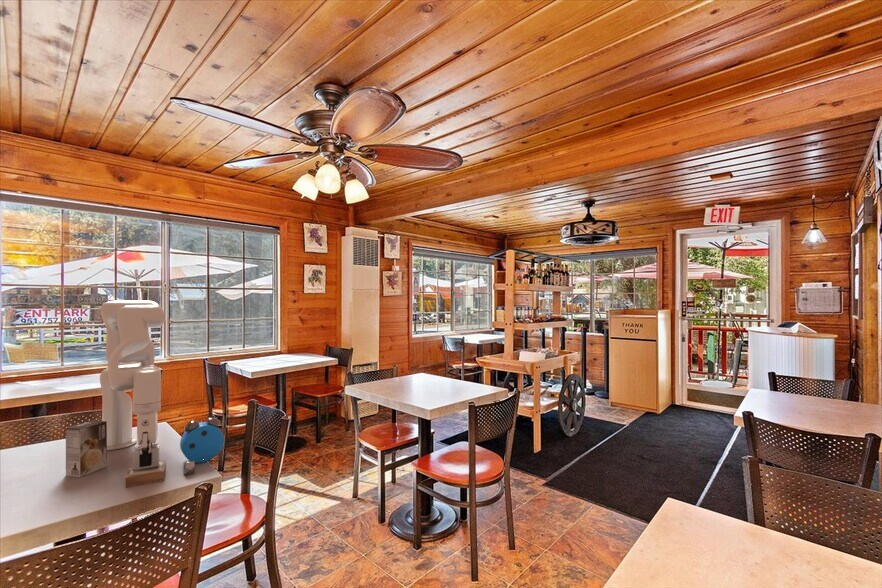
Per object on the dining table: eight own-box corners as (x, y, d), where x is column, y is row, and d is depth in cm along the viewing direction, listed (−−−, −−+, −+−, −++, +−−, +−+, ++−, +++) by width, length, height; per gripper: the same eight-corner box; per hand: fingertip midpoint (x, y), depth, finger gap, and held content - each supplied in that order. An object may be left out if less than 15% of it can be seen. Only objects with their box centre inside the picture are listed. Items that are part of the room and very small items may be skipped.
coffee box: (92, 465, 148) (93, 419, 148) (107, 467, 147) (108, 420, 147) (64, 476, 139) (65, 427, 139) (80, 477, 138) (80, 428, 138)
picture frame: (129, 475, 139) (129, 465, 139) (165, 469, 144) (165, 460, 144) (125, 487, 130) (125, 476, 130) (163, 480, 136) (163, 470, 136)
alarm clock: (219, 453, 159) (220, 414, 159) (224, 458, 154) (224, 417, 154) (179, 462, 150) (180, 420, 151) (182, 467, 146) (183, 424, 146)
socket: (183, 473, 141) (183, 461, 141) (194, 471, 143) (194, 459, 143) (183, 476, 139) (183, 464, 139) (194, 474, 140) (194, 462, 140)
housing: (133, 465, 138) (134, 446, 138) (159, 461, 141) (159, 442, 141) (131, 470, 134) (132, 450, 134) (158, 466, 137) (158, 447, 137)
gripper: (158, 411, 132) (158, 469, 132) (162, 400, 147) (161, 452, 147) (129, 415, 128) (128, 474, 128) (135, 403, 143) (135, 456, 143)
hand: (146, 462), depth 137 cm, fingers closed on housing, 5 cm apart
